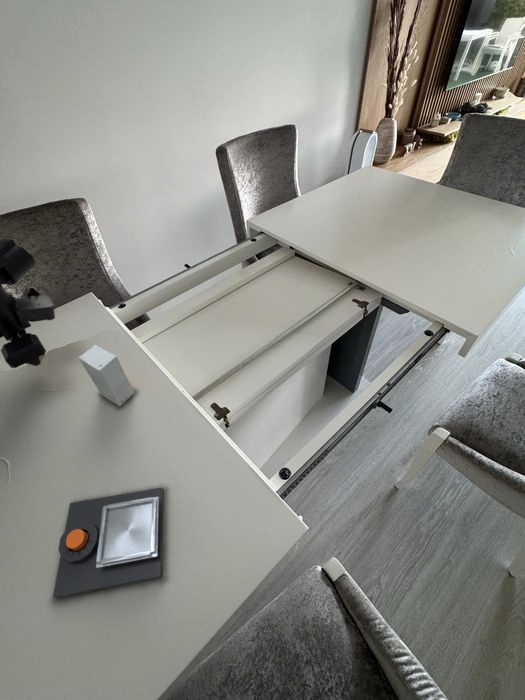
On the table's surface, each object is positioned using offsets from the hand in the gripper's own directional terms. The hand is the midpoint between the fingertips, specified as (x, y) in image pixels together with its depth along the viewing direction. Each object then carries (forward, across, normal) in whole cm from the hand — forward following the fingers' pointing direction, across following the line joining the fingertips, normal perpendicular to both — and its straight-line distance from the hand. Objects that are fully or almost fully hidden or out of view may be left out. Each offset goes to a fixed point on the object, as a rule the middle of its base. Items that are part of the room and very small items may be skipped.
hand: (34, 356), depth 74 cm
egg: (+2, 0, 0) cm, 2 cm away
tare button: (+2, -40, +6) cm, 41 cm away
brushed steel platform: (+2, -44, 0) cm, 44 cm away
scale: (+5, -42, +2) cm, 43 cm away
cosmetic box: (+5, -16, -10) cm, 20 cm away
